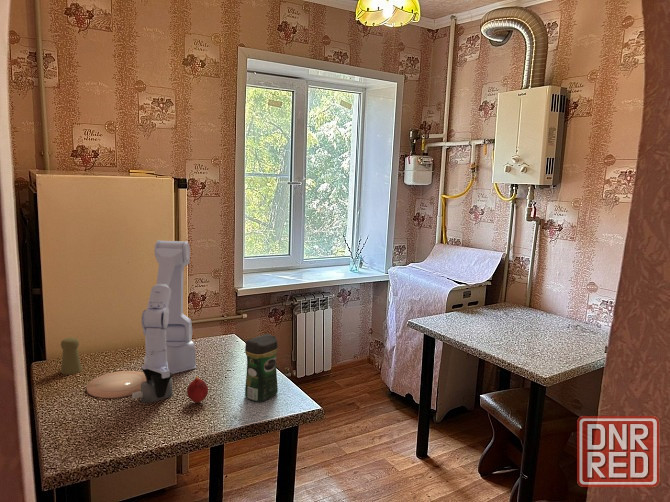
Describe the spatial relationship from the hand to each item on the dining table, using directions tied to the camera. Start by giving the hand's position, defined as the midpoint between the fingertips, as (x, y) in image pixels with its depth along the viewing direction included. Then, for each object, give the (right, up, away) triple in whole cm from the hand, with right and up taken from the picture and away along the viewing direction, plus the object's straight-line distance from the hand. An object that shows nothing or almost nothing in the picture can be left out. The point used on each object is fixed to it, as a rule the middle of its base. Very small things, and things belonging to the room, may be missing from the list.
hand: (157, 393), depth 141 cm
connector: (-1, -2, 0) cm, 2 cm away
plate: (-14, 0, +7) cm, 16 cm away
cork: (-34, +2, +17) cm, 38 cm away
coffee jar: (+30, -2, +4) cm, 30 cm away
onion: (+13, -2, -2) cm, 13 cm away
